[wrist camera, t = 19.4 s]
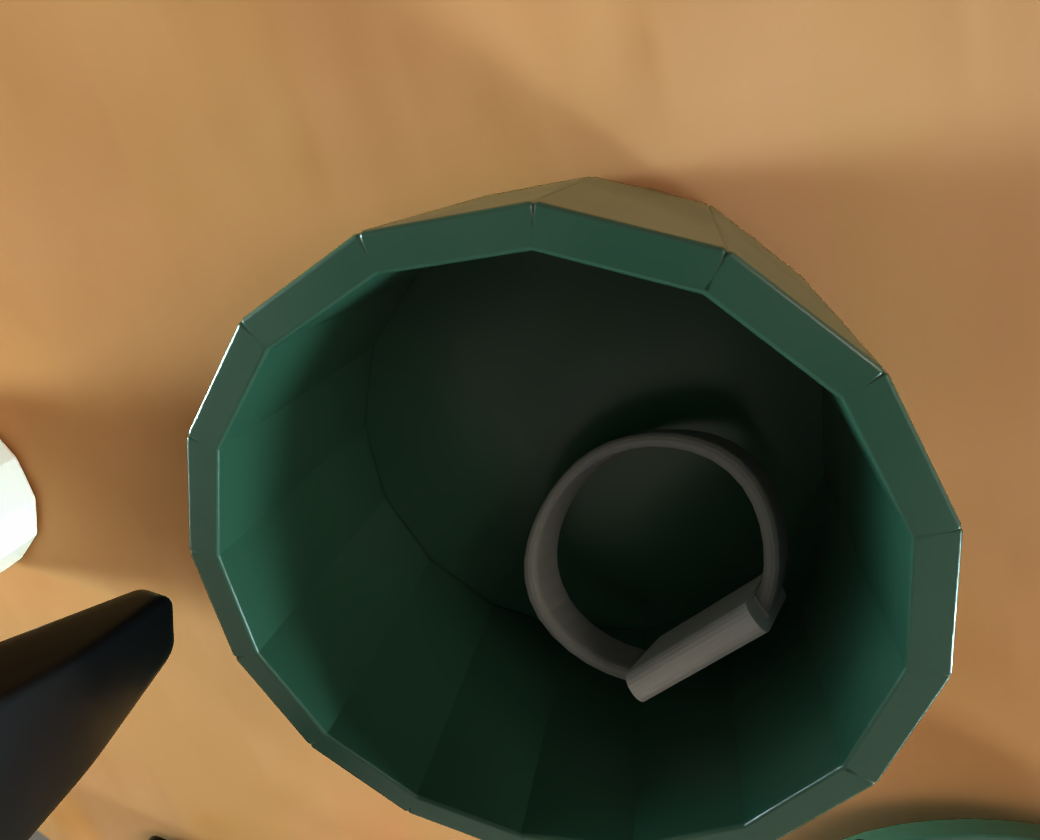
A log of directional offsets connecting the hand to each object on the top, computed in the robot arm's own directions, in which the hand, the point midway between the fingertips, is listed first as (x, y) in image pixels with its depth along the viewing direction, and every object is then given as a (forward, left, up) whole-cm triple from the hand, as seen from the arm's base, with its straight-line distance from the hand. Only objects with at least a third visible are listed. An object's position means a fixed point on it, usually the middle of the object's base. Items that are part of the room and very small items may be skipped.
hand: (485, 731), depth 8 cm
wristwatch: (0, 0, -8) cm, 8 cm away
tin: (0, 0, -9) cm, 9 cm away
